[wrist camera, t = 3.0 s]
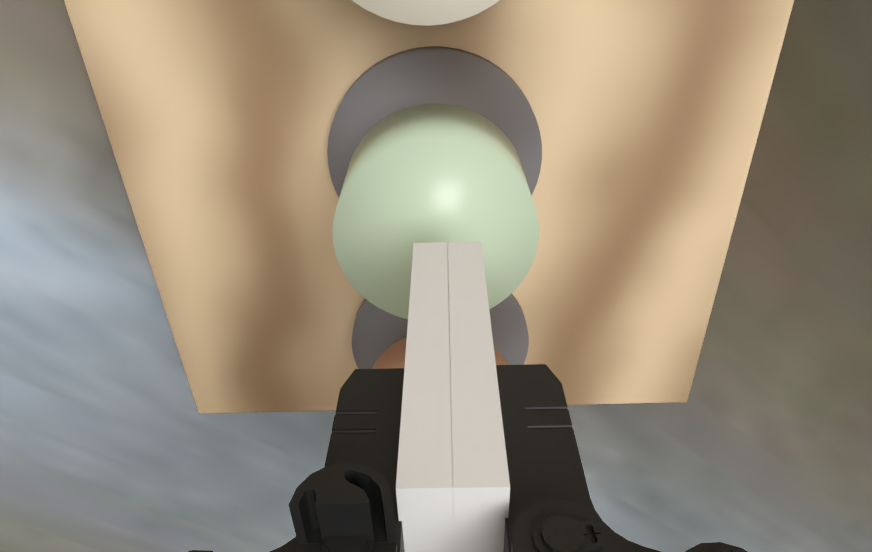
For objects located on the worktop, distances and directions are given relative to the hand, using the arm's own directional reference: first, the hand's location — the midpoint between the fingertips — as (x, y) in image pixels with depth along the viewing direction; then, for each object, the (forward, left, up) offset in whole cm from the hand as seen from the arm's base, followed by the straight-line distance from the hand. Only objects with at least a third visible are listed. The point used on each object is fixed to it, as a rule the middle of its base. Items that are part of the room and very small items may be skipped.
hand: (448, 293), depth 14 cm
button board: (0, 0, -10) cm, 10 cm away
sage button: (0, 0, -5) cm, 5 cm away
